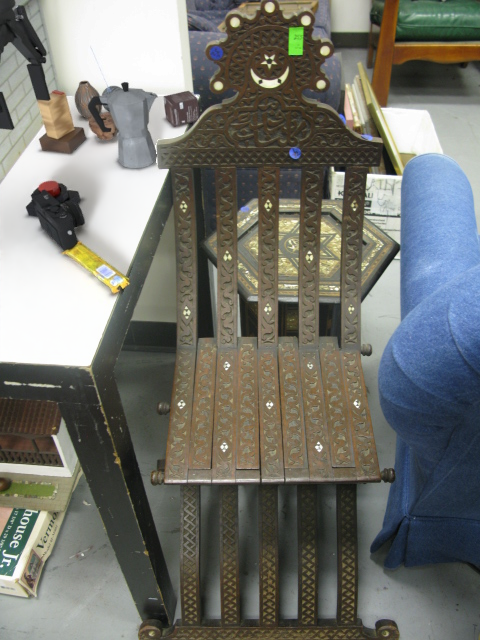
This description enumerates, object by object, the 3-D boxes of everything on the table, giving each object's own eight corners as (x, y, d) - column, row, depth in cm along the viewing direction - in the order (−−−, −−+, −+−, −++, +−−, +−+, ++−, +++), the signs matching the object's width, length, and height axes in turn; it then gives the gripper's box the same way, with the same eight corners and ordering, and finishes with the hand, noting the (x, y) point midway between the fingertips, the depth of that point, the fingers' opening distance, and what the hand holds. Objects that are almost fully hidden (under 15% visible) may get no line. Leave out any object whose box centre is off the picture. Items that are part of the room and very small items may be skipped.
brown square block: (42, 150, 137) (38, 138, 135) (58, 135, 143) (55, 124, 140) (70, 153, 135) (67, 142, 133) (86, 138, 141) (83, 127, 139)
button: (36, 196, 115) (34, 189, 113) (47, 187, 117) (44, 179, 116) (54, 199, 114) (51, 191, 113) (63, 189, 116) (61, 181, 115)
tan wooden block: (57, 139, 134) (46, 101, 128) (47, 136, 136) (36, 98, 129) (75, 129, 138) (65, 92, 131) (64, 126, 139) (54, 89, 133)
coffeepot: (164, 147, 136) (154, 71, 123) (167, 165, 129) (156, 87, 117) (101, 153, 135) (84, 78, 122) (100, 173, 128) (82, 95, 115)
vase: (82, 123, 147) (74, 89, 141) (75, 113, 151) (67, 80, 145) (107, 116, 149) (100, 83, 143) (99, 107, 154) (92, 75, 147)
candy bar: (112, 290, 95) (115, 297, 97) (131, 276, 97) (133, 284, 99) (58, 247, 104) (61, 254, 105) (76, 236, 105) (79, 243, 107)
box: (200, 121, 146) (174, 127, 144) (191, 112, 150) (165, 118, 147) (198, 98, 141) (171, 104, 139) (188, 89, 145) (162, 95, 143)
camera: (101, 243, 108) (92, 208, 102) (67, 258, 105) (56, 223, 99) (68, 212, 116) (58, 178, 111) (36, 226, 113) (24, 191, 107)
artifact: (104, 128, 144) (100, 109, 141) (128, 133, 141) (124, 114, 138) (85, 141, 139) (81, 121, 136) (109, 146, 137) (105, 127, 133)
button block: (28, 215, 116) (22, 199, 113) (48, 195, 122) (43, 179, 119) (62, 220, 114) (57, 203, 112) (80, 200, 120) (76, 183, 117)
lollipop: (131, 61, 133) (111, 79, 131) (134, 107, 152) (116, 123, 151) (101, 35, 133) (80, 53, 131) (107, 84, 152) (89, 101, 151)
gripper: (-43, 4, 80) (7, 145, 95) (44, -36, 96) (75, 89, 111) (-86, 2, 81) (-31, 141, 96) (7, -37, 98) (42, 86, 113)
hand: (26, 113), depth 104 cm, fingers open, 12 cm apart
